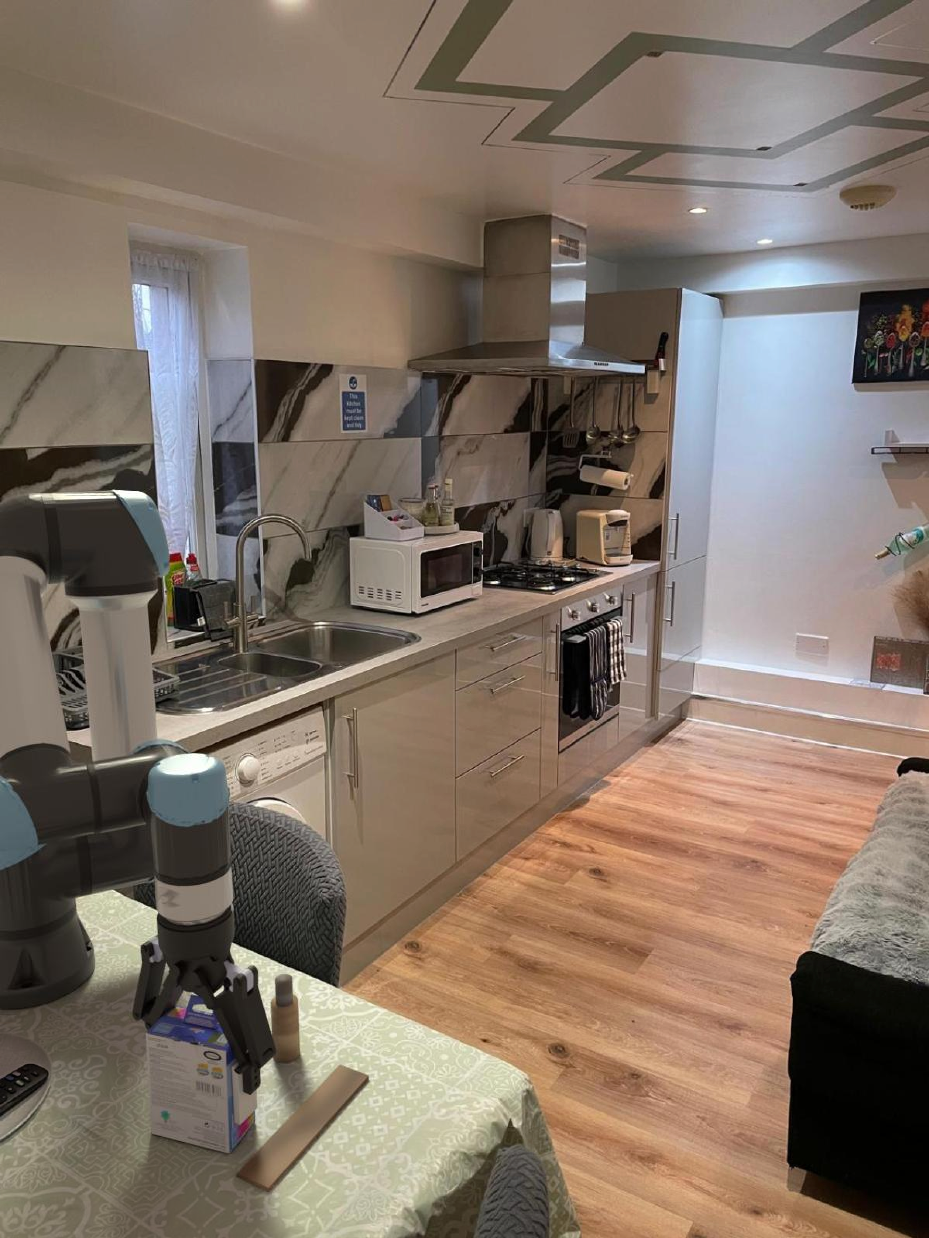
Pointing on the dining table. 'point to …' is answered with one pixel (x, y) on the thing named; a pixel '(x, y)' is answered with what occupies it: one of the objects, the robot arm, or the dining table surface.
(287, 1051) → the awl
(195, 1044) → the ink cartridge box
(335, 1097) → the strip
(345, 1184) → the dining table surface
